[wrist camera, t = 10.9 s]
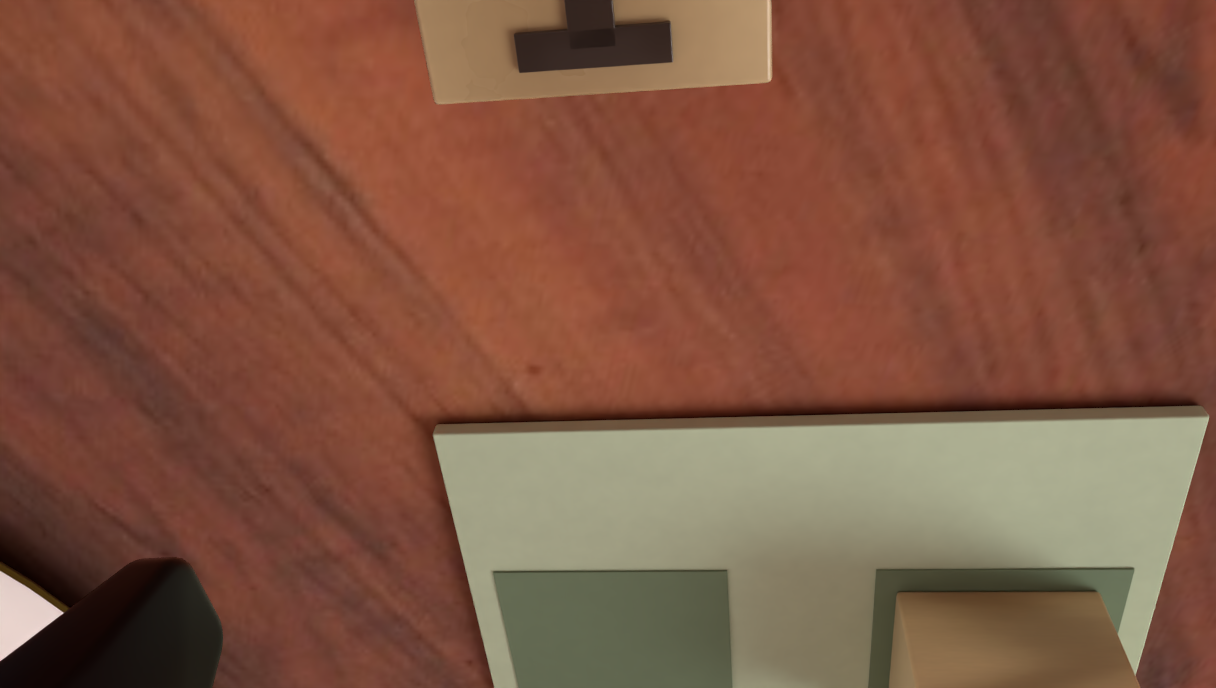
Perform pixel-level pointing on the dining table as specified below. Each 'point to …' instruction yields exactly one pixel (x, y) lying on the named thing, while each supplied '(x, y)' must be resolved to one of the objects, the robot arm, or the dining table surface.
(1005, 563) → the mat
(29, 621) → the plate
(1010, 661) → the letter h block
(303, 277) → the dining table surface
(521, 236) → the dining table surface
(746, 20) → the letter i block
